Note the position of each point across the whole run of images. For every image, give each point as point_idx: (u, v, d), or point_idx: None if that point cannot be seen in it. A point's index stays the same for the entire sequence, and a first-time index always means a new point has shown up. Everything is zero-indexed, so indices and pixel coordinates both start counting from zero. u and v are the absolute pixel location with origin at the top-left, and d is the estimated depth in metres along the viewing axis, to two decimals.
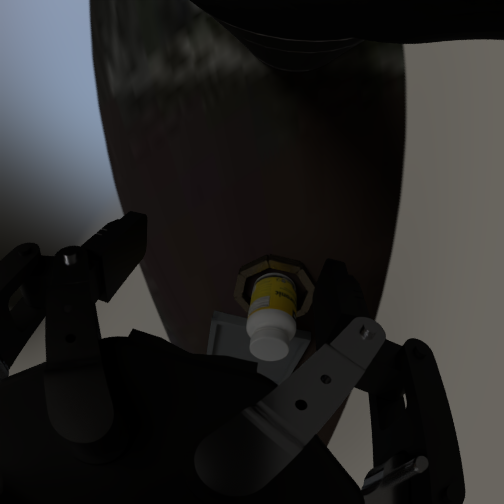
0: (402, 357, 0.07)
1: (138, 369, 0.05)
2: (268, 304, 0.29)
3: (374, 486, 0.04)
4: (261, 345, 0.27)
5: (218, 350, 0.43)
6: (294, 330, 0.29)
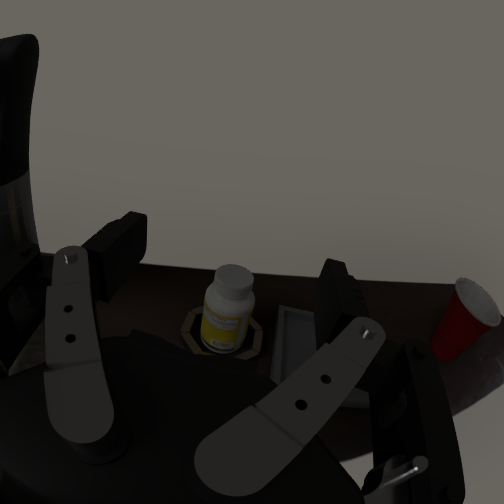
0: (402, 357, 0.07)
1: (138, 369, 0.05)
2: (204, 303, 0.30)
3: (374, 486, 0.04)
4: (228, 279, 0.28)
5: None
6: None
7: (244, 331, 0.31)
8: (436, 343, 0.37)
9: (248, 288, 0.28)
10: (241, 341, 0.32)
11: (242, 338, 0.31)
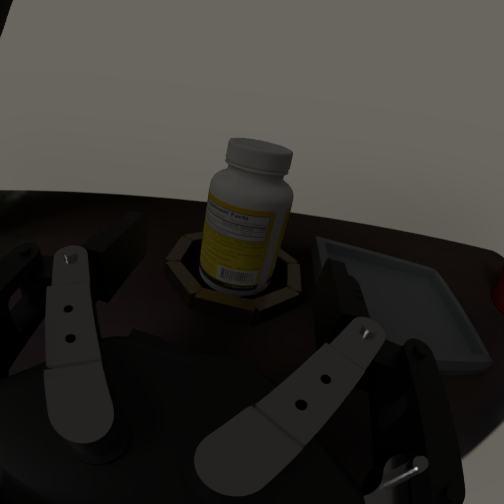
0: (402, 357, 0.07)
1: (138, 369, 0.05)
2: (208, 198, 0.17)
3: (374, 486, 0.04)
4: (252, 145, 0.15)
5: None
6: None
7: (275, 252, 0.18)
8: (502, 296, 0.25)
9: (286, 159, 0.15)
10: (269, 273, 0.19)
11: (271, 267, 0.19)
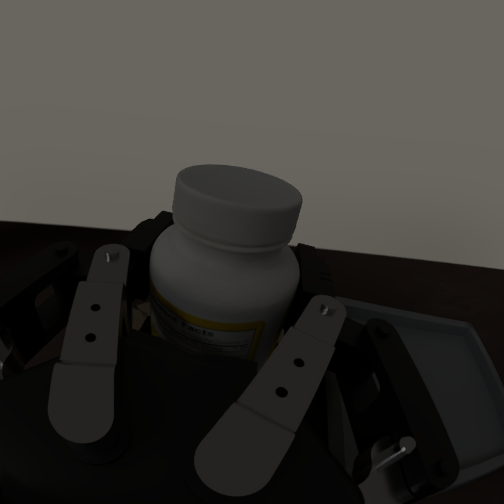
0: (366, 339, 0.08)
1: (138, 369, 0.05)
2: None
3: (365, 472, 0.05)
4: (219, 186, 0.08)
5: (461, 460, 0.09)
6: None
7: None
8: None
9: (290, 216, 0.08)
10: None
11: None
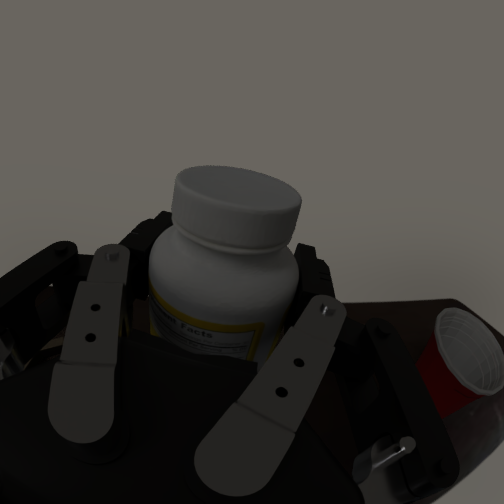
0: (366, 339, 0.08)
1: (138, 369, 0.05)
2: None
3: (365, 472, 0.05)
4: (218, 187, 0.08)
5: None
6: None
7: None
8: None
9: (289, 218, 0.08)
10: None
11: None
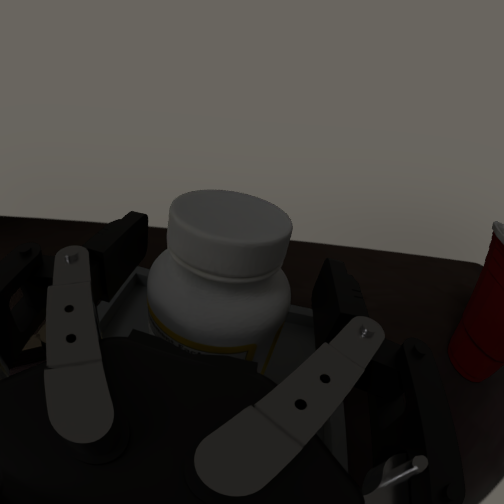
0: (401, 356, 0.07)
1: (138, 369, 0.05)
2: None
3: (374, 486, 0.04)
4: (210, 218, 0.08)
5: None
6: None
7: None
8: (460, 349, 0.18)
9: (279, 247, 0.08)
10: None
11: None
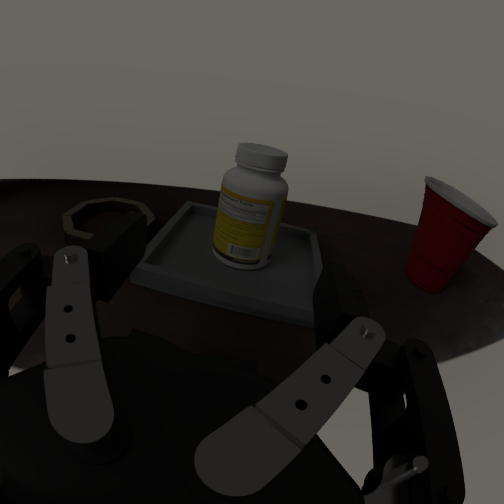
0: (402, 357, 0.07)
1: (138, 369, 0.05)
2: (221, 190, 0.22)
3: (374, 485, 0.04)
4: (256, 149, 0.20)
5: None
6: None
7: (274, 233, 0.23)
8: (412, 265, 0.30)
9: (282, 160, 0.20)
10: (269, 251, 0.24)
11: (271, 246, 0.24)
